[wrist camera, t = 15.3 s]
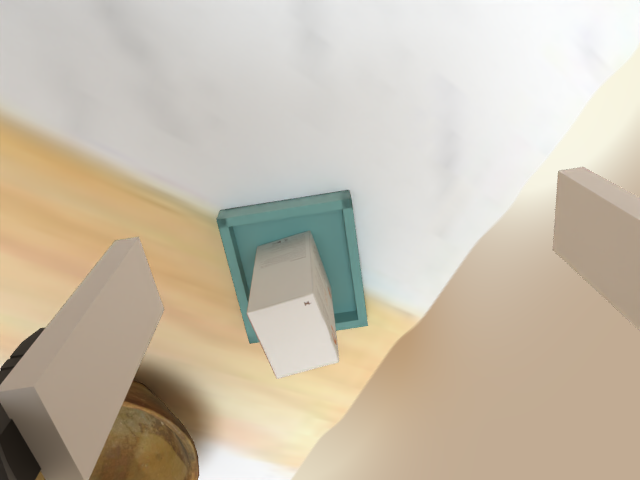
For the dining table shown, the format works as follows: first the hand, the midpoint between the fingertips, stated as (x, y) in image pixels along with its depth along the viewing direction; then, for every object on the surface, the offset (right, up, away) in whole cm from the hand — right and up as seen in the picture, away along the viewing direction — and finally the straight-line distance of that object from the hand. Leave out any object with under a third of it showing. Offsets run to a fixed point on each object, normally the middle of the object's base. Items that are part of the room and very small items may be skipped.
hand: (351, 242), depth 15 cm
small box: (-4, -3, +39) cm, 40 cm away
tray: (-4, -3, +40) cm, 40 cm away
